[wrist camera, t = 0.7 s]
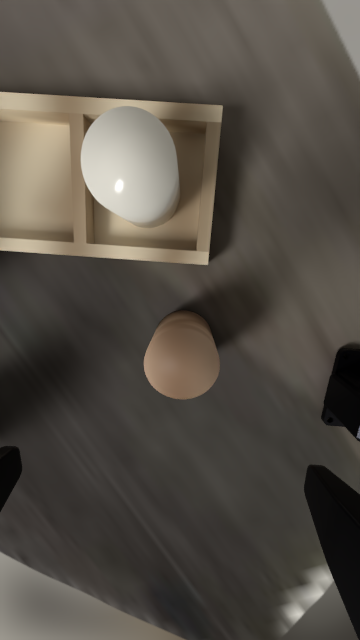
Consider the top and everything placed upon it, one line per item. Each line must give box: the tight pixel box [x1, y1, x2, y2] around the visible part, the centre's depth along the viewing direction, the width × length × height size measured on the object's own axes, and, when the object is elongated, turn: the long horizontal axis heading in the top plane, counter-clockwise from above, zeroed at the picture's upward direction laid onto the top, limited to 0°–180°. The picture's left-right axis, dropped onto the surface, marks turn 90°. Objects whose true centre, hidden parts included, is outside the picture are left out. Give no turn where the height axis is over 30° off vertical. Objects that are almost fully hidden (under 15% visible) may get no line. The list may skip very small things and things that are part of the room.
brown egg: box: [144, 311, 220, 399], centre depth 17 cm, size 4×4×5 cm
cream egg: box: [81, 106, 180, 228], centre depth 13 cm, size 4×4×5 cm
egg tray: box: [0, 92, 223, 265], centre depth 16 cm, size 16×9×2 cm, turn 86°
